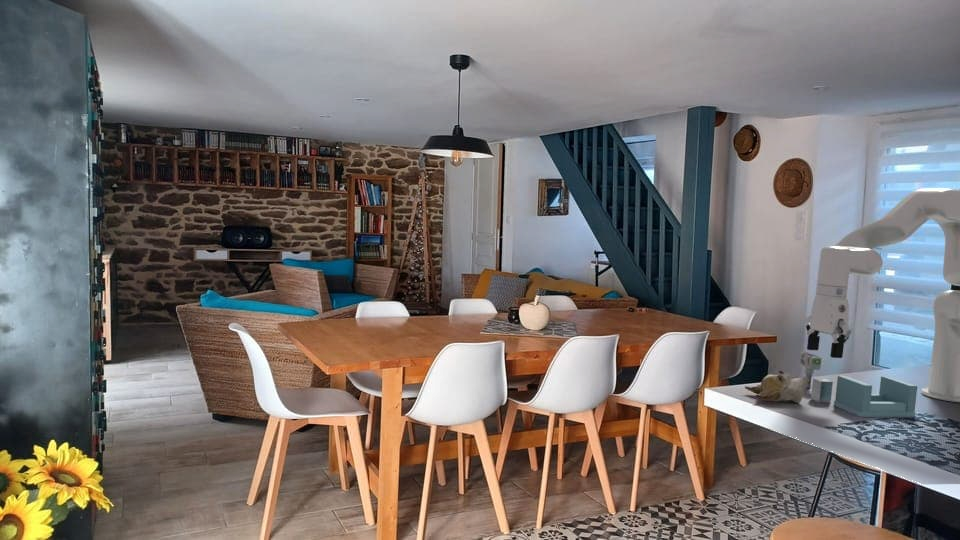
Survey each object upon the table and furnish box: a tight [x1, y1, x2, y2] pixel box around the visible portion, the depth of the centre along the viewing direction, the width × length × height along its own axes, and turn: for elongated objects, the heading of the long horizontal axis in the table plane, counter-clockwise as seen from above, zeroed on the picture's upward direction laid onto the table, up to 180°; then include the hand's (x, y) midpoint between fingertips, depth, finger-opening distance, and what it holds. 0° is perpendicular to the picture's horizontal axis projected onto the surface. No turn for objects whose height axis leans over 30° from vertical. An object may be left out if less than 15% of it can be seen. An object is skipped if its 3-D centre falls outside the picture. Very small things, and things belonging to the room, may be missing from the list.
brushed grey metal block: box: [810, 377, 834, 404], centre depth 186 cm, size 4×4×6 cm
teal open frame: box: [833, 375, 918, 418], centre depth 178 cm, size 16×10×8 cm, turn 99°
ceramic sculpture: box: [744, 370, 807, 404], centre depth 183 cm, size 11×9×15 cm
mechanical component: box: [799, 351, 823, 389], centre depth 200 cm, size 3×10×10 cm, turn 174°
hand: (824, 353), depth 184 cm, fingers open, 9 cm apart
